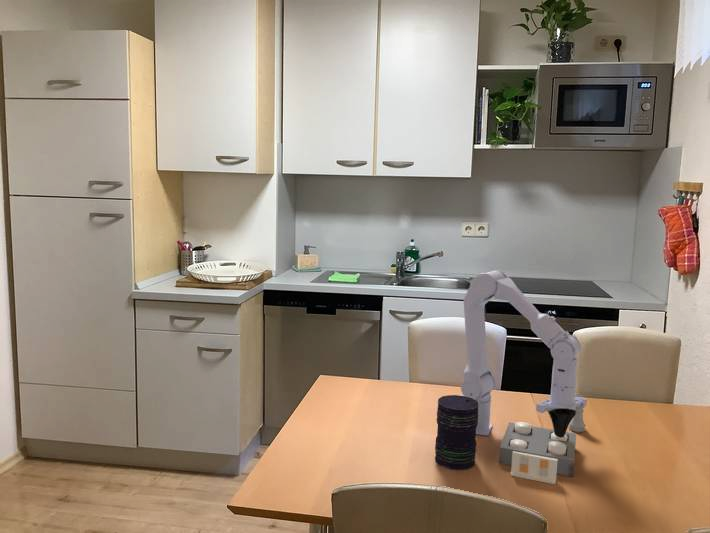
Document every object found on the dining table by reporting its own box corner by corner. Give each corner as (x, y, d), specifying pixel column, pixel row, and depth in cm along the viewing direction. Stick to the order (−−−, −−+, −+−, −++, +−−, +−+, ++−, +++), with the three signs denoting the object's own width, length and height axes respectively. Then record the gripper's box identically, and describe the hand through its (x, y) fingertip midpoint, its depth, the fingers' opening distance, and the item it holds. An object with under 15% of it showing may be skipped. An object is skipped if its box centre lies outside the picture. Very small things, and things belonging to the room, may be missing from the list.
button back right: (549, 449, 155) (550, 437, 154) (550, 443, 158) (551, 431, 158) (566, 452, 153) (567, 440, 153) (566, 445, 157) (567, 434, 157)
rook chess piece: (586, 433, 168) (589, 405, 167) (569, 431, 169) (571, 404, 168) (583, 427, 172) (586, 400, 171) (567, 425, 173) (569, 398, 172)
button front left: (508, 456, 150) (509, 444, 149) (510, 450, 153) (511, 438, 153) (525, 459, 148) (526, 447, 148) (527, 453, 152) (527, 441, 151)
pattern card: (510, 475, 142) (511, 454, 142) (512, 470, 145) (513, 449, 144) (555, 484, 139) (557, 462, 138) (556, 478, 142) (557, 457, 141)
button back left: (513, 438, 158) (514, 426, 157) (515, 432, 162) (516, 420, 161) (529, 441, 156) (530, 429, 156) (531, 435, 160) (531, 423, 160)
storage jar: (450, 473, 142) (453, 412, 140) (426, 456, 151) (429, 398, 149) (484, 465, 147) (487, 406, 145) (459, 449, 156) (462, 392, 154)
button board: (498, 462, 149) (499, 447, 148) (508, 436, 164) (509, 422, 164) (572, 476, 143) (574, 460, 142) (575, 448, 158) (576, 433, 158)
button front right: (547, 459, 146) (548, 446, 146) (548, 452, 150) (549, 440, 150) (564, 462, 145) (565, 449, 144) (565, 455, 149) (566, 443, 148)
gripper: (551, 392, 147) (547, 446, 149) (597, 386, 153) (592, 438, 155) (532, 383, 153) (528, 435, 155) (576, 377, 159) (572, 427, 161)
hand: (559, 435), depth 155 cm, fingers closed, pressing on button back right
